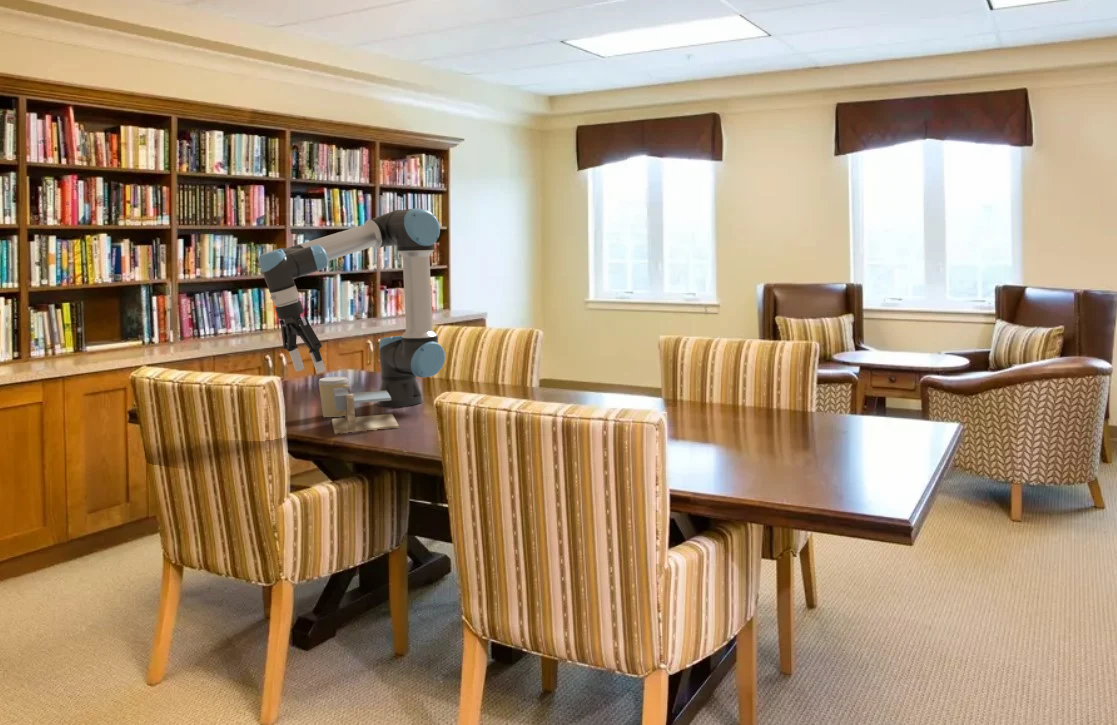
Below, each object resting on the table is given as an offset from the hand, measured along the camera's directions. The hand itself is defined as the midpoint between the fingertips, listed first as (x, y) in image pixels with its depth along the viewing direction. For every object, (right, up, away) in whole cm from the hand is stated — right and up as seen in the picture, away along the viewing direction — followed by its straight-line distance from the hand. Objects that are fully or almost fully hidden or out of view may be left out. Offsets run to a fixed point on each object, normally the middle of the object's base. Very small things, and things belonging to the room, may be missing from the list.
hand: (310, 371), depth 271 cm
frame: (+15, -16, +6) cm, 23 cm away
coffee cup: (+2, -15, +22) cm, 26 cm away
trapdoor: (+14, -10, +5) cm, 18 cm away
